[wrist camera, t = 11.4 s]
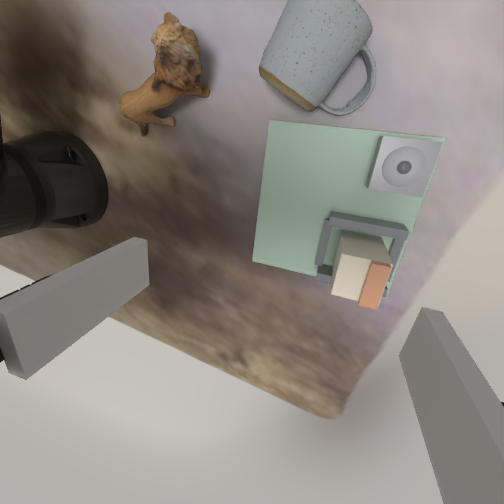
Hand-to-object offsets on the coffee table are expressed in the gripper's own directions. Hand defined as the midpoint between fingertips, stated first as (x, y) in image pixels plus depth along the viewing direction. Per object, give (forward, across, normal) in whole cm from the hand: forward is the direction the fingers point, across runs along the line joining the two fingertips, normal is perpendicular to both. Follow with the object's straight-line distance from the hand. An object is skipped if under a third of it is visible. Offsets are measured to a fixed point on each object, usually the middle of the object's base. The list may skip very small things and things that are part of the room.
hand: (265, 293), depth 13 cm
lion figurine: (+24, -18, +10) cm, 32 cm away
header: (+22, +7, -4) cm, 23 cm away
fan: (+22, +8, +6) cm, 24 cm away
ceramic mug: (+23, -1, +14) cm, 27 cm away
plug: (+21, +7, -5) cm, 23 cm away
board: (+23, +3, 0) cm, 23 cm away
